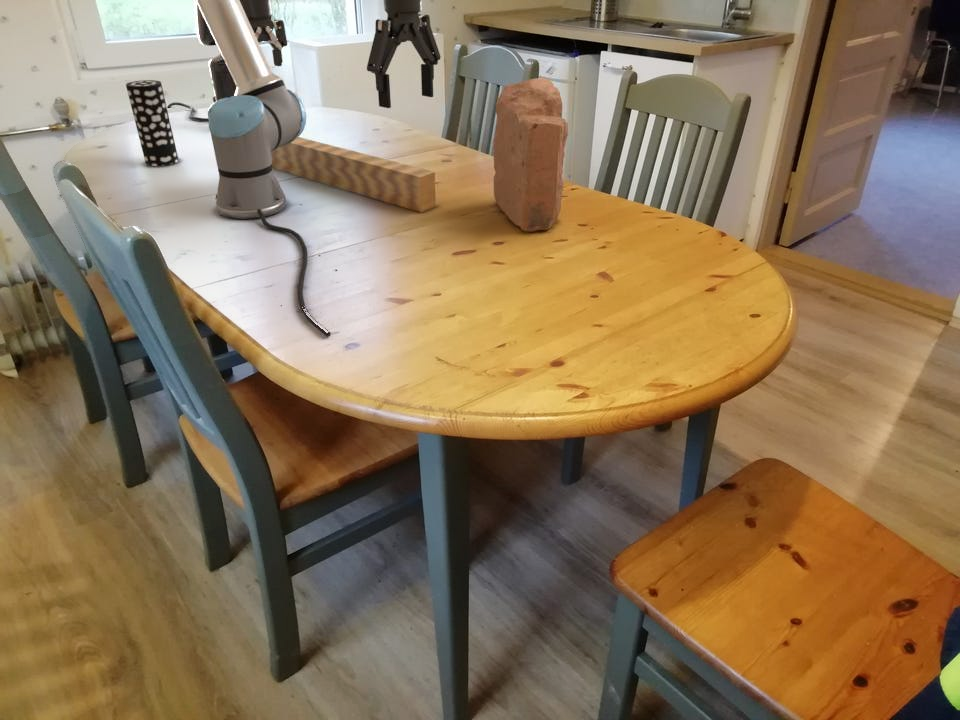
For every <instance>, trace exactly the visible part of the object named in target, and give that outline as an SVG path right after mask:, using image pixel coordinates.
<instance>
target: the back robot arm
mask: <svg viewBox="0 0 960 720" xmlns="http://www.w3.org/2000/svg"><path fill="white" fill-rule="evenodd" d="M240 3H241V5H242V7H243V9H244V11H245V14H246V16H247V18H248V20H249V23H250V25H251V27H252V29H253V31H254V34H255V36H256V38H257V40H258V43H259V44H260V43H262V42H266V43H268V44H269V45H270V47H271V48H272V49H271V51H272V59H273V65H274V66H275V67H281V66H283V63H284V62H283V54H282V49H283V48H284V47H287V46H288V39H287V33H286V28H285V23H284V20H282V19H273V14H274V13H273V8H272V0H240ZM194 17H195V29H196V35H197V38H198V40H199V43H200V44H201V45H203V46H205V47H218V46H217V44H216V42H215V40H214V38H213V35H212V33H211V31H210V29H209V27H208V25H207V23H206V21H205V19H204V17H203V14H202V12H201V10H200V8H199V6H198V4H197V2H196V0H194ZM273 31H274V32H275V33H274V32H273ZM208 67H209V73H210V78H211V83H212V89H213V94H214V96H212V102H213V103H214V102H216V101H218V100H220V99H223V98H230V97H231V96H235V92H236V89H237V86H236V84H235V82H234V80H233V77H232V75H231V73H230V71H229V69H228V67H227V65H226V63H225V61H224V59H223V56H222V54H221V53H220V54H218V55H216V56H214V57H213V58H211V59H210V60H209V61H208ZM213 103H212V104H213ZM173 106H181V107H184V108H187V109H189V111H188V115H187V116H188V118H189V119H191V120H193V121H199V122H209V120H208V117H207V118H205V117H197V116H193V112H194V110H195V108H194V107H193V106H192V105H189V104H186V103H182V102H177V101H173V102H170V103H169V104H168V105H167V109H170V108H171V107H173Z"/></svg>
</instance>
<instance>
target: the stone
mask: <svg viewBox="0 0 960 720" xmlns="http://www.w3.org/2000/svg"><path fill="white" fill-rule="evenodd" d="M554 85H555V84H554V83H553V81H551V80H550V79H549V78H546V77H539V78H538V77H537V78H530V79H526V80H522V81H521V82H517V83H509V84H507V85H506V86H504V88H503V89H502V90H501V92H500V94H499V96H498V97H497V100H496V102H495V114H496V124H495V130H494V138H493V169H494V172H495V173H494V175H493V197H494V200H495V204H496V205H497V206H498V207H499V209H500V210H501V211H502V212H503V213H504V214H505V215H506V217H508V219H509V220H510V221H511V222H512V223H513V224H514V225H515V226H517V227H519V228H520V230H522V231H523V232H537V231H546V230H549V229H551V227H552V226H554V224H555V223H557V221H558V218H559V214H560V213H561V209H562V198H563V192H564V191H563V190H564V181H563V172H564V171H563V170H564V169H563V167H564V159H565V155H566V154H565V148H566V144H567V140H568V139H567V138H568V135H569V123H568V122H567V120H566V119H565V118H563V116H562V115H563V101H562V97H561V92H560V90H559V88H558V87H557V86H554Z"/></svg>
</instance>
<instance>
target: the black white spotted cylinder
mask: <svg viewBox="0 0 960 720" xmlns="http://www.w3.org/2000/svg"><path fill="white" fill-rule="evenodd" d="M125 87H126V91H127V95H128V99H129V103H130V107H131V110H132V115H133V118H134V122H135V123H134V124H135V127H136V130H137V134H138V139H139V143H140V146H141V150H142V155H143V158H144V163H145V164H146V165H147V166H151V167H164V166H170V165H174V164H176V163H178V162H179V155H178V150H177V146H176V142H175V137H174V133H173V128H172V125H171V121H170V116H169V111H168V108H167V107H168V105H167V103H166V98H165V93H164V89H163V84H162V81H161V80H155V79H154V80H153V79H151V80H150V79H145V80H144V79H141V80H134V81H130V82H129V81H128V82H127V83H126V84H125Z"/></svg>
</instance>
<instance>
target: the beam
mask: <svg viewBox="0 0 960 720" xmlns="http://www.w3.org/2000/svg"><path fill="white" fill-rule="evenodd" d="M270 153H271V160H272V167H273V170H278V171H282V172H284V173H287V174H292V175H293V176H294V175H295V176H297V177H301V178H304V179H308V180H311V181H315V182H318V183H321V184H325V185H327V186H331V187H335V188H338V189H341V190H345V191H347V192H352V193H354V194H359V195H362V196H364V197H368V198H372V199H375V200H378V201H382V202H385V203H388V204H392V205H395V206H398V207H401V208H405V209H408V210H412V211H415V212H418V213H423V212H426V211H429V210H431V209H434V208H436V204H437V203H436V172H435V171H434V170H433V171H432V170H429V169H425V168H422V167H417V166H414V165H410V164H406V163H401V162H397V161H393V160H390V159H386V158H383V157H379V156H374V155H370V154H366V153H363V152H358V151H354V150H351V149H347V148H344V147H339V146H335V145H332V144H327V143H325V142H324V143H323V142H320V141H316V140H313V139H308V138H304V137H300V136H298V137H297V138H296V139H295V140H294V141H292V142H291V143H288V144H286V145H283V146H281V147H279V148H277V149H275V150H273V151H271V152H270Z"/></svg>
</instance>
